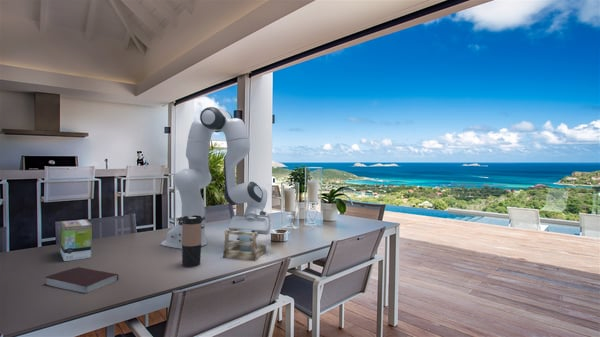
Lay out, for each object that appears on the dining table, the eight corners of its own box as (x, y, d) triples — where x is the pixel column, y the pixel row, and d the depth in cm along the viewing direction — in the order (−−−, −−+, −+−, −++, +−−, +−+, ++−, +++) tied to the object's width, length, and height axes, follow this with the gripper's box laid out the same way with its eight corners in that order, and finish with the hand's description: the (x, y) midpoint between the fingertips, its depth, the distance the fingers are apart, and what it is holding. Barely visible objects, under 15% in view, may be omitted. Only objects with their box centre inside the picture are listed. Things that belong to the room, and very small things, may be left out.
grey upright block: (237, 252, 150) (237, 230, 150) (242, 249, 156) (242, 228, 155) (248, 253, 149) (249, 231, 149) (252, 250, 154) (253, 229, 154)
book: (79, 274, 123) (79, 265, 123) (118, 281, 117) (118, 272, 117) (44, 286, 111) (44, 277, 111) (86, 295, 105) (86, 285, 105)
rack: (223, 257, 147) (223, 231, 146) (236, 248, 161) (237, 224, 161) (254, 260, 143) (255, 233, 143) (265, 251, 158) (266, 226, 158)
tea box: (92, 257, 141) (92, 224, 141) (63, 262, 135) (63, 226, 134) (86, 249, 153) (86, 218, 152) (59, 253, 146) (60, 220, 146)
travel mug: (194, 268, 132) (195, 219, 131) (177, 266, 133) (178, 217, 133) (204, 262, 139) (205, 215, 139) (187, 260, 141) (188, 214, 140)
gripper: (231, 210, 161) (222, 234, 152) (271, 213, 156) (264, 238, 147) (235, 218, 165) (226, 241, 156) (273, 220, 161) (267, 245, 152)
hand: (245, 240), depth 152 cm, fingers closed on grey upright block, 5 cm apart
